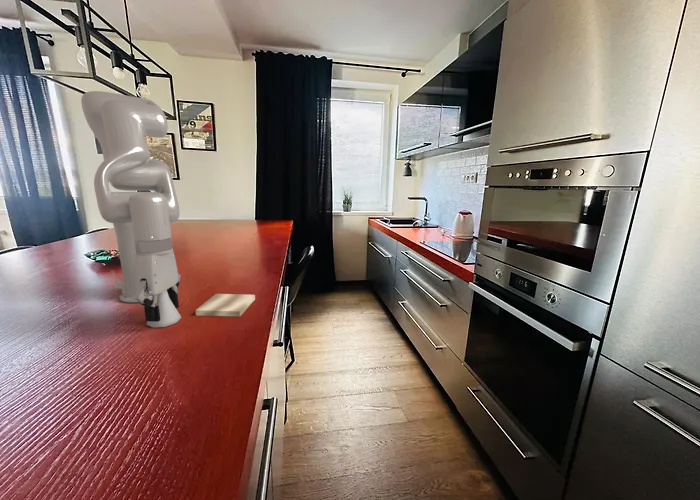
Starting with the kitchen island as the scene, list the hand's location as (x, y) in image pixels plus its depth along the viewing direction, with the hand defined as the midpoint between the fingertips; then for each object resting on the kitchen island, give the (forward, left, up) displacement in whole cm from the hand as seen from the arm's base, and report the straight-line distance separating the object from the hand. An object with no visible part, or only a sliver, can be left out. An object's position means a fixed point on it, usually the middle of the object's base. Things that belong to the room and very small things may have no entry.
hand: (163, 313), depth 75 cm
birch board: (+12, +10, -2) cm, 16 cm away
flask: (0, 0, -3) cm, 3 cm away
